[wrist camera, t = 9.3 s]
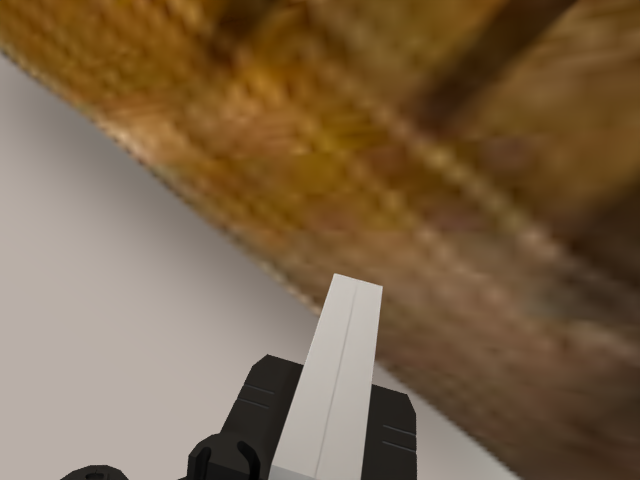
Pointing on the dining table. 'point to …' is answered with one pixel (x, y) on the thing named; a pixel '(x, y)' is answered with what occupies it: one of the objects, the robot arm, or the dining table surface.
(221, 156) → the dining table surface
